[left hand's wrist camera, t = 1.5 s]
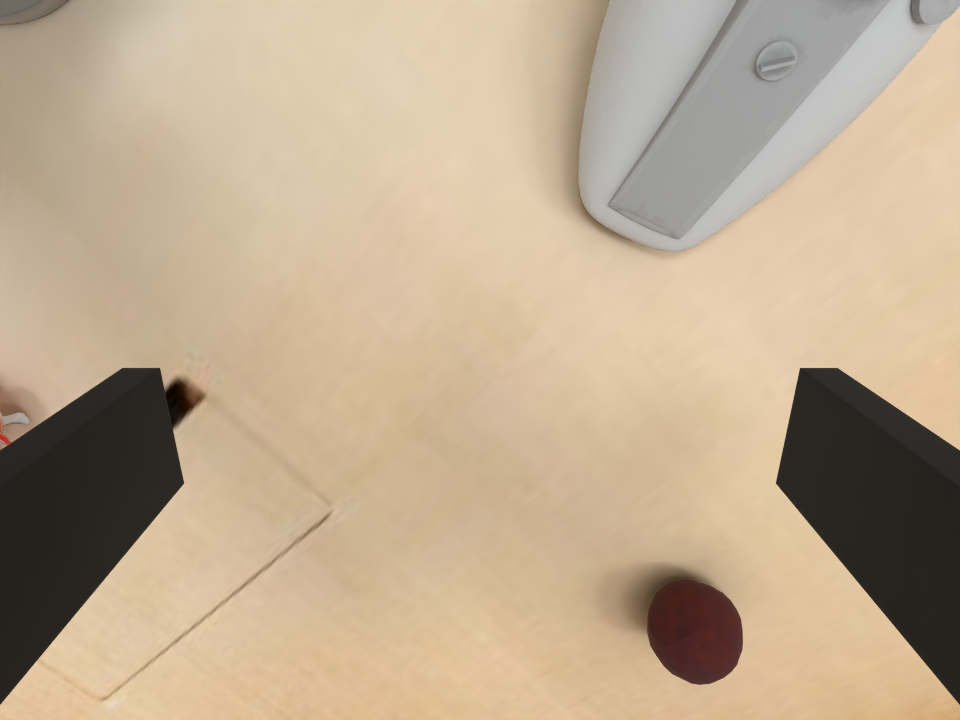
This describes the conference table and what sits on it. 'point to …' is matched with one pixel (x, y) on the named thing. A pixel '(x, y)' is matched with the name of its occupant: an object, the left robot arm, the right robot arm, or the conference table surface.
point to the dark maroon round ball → (695, 631)
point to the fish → (11, 419)
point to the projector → (728, 102)
